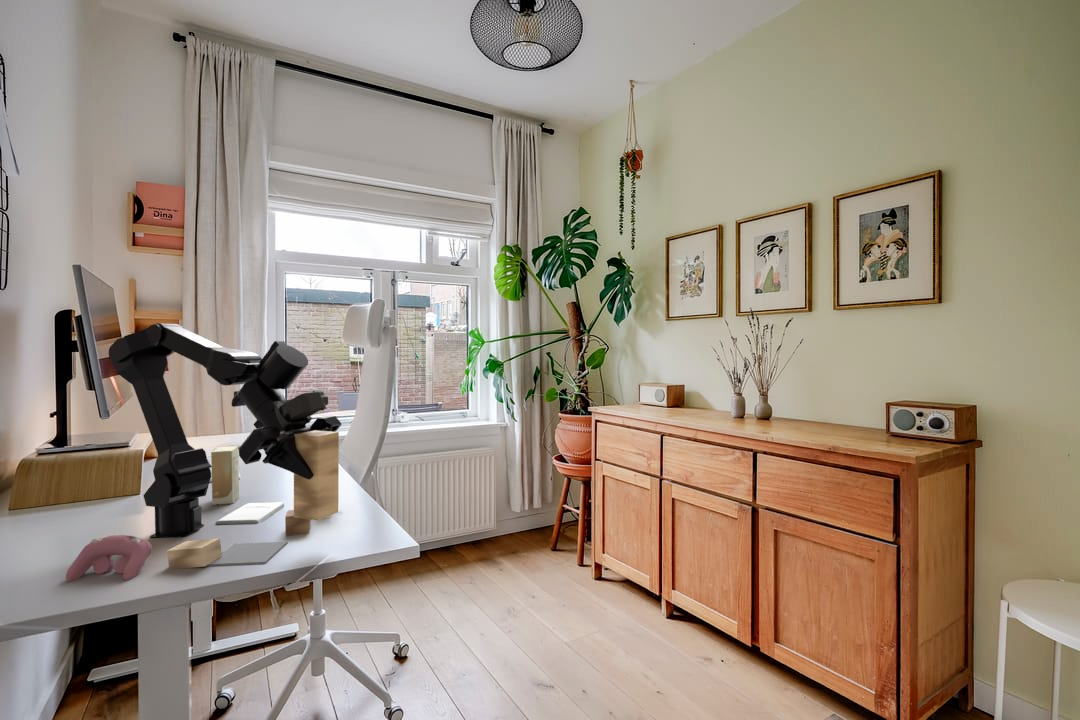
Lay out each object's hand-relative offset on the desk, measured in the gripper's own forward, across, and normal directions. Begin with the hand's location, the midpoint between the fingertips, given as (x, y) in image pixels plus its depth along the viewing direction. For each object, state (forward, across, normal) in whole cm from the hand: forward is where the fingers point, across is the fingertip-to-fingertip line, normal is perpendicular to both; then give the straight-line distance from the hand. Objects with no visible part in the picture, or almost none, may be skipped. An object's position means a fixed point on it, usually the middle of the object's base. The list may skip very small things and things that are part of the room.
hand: (322, 473), depth 90 cm
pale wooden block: (-2, -10, +21) cm, 23 cm away
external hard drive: (-10, +13, +30) cm, 34 cm away
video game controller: (-8, -17, +28) cm, 34 cm away
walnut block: (+2, +7, +18) cm, 19 cm away
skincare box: (-21, +20, +41) cm, 50 cm away
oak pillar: (+4, 0, +6) cm, 7 cm away
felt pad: (+2, -5, +17) cm, 18 cm away
